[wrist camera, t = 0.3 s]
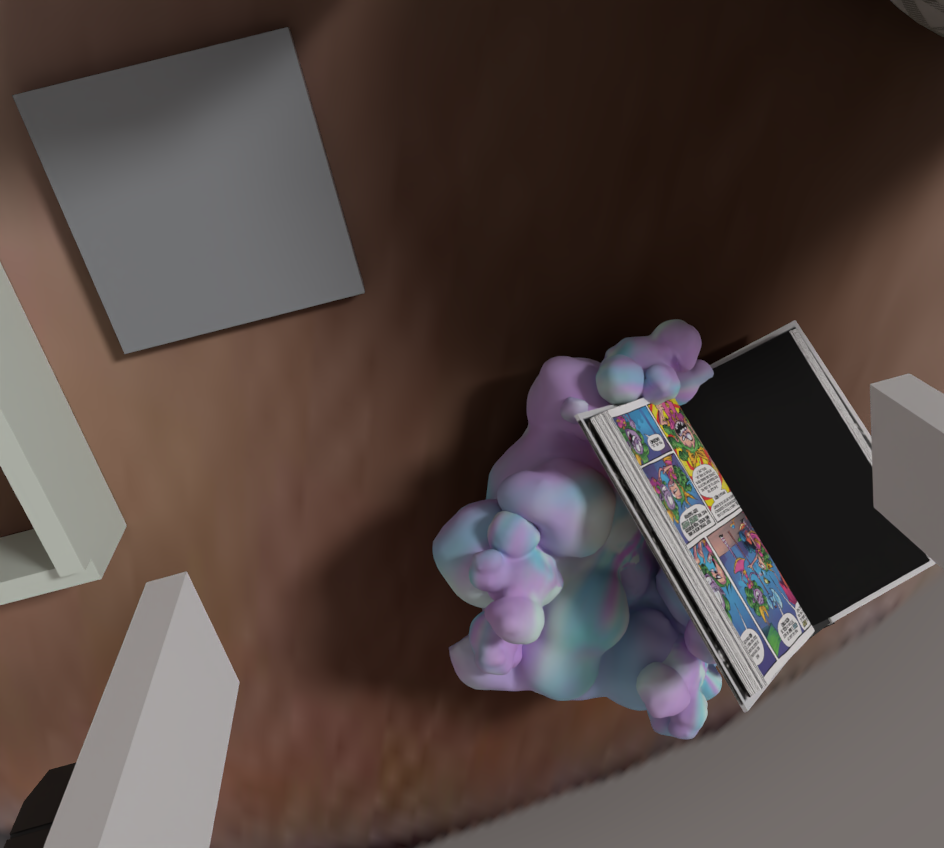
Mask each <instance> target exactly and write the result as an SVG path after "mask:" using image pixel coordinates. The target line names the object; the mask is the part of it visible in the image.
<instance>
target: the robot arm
mask: <svg viewBox="0 0 944 848" xmlns="http://www.w3.org/2000/svg"><path fill="white" fill-rule="evenodd" d="M870 404H871V438H872V471H873V505H874V508H875V509H876V510H877V511H879V512H880V513H881V514H882V515H883V516H884V517H885V518H886V519H887V520H889V521H890V522H891V523H892V524H893V525H894V526H895V527H896V528H897V529H899V530H900V531H901V532H902V533H903V534H904V535H905V536H906V537H907V538H909V539H910V540H911V541H912V542H913V543H914V544H915V545H916V546H917V547H919V548H920V549H921V550H922V551H923V552H924V553H925V554H926V555H927V556H929V557H930V558H931V559H932V560H933V561H934V562H935V563H936V564H938V565H939V566H940V567H941V568H942V569H943V570H944V394H943V393H941V392H939V391H938V390H936V389H934V388H933V387H931V386H929V385H928V384H926V383H924V382H923V381H921V380H919V379H918V378H916V377H914V376H913V375H911V374H905V375H902V376H898V377H895V378H891V379H887V380H884V381H880V382H876V383H873V384H870ZM238 687H239V680H238V678H237V676H236V674H235V672H234V670H233V667H232V665H231V663H230V661H229V659H228V657H227V655H226V653H225V651H224V649H223V646H222V644H221V642H220V640H219V638H218V636H217V634H216V632H215V630H214V628H213V625H212V623H211V621H210V619H209V617H208V615H207V613H206V611H205V609H204V607H203V605H202V602H201V600H200V598H199V596H198V594H197V592H196V590H195V588H194V586H193V584H192V581H191V579H190V577H189V575H188V573H187V572H183V573H179V574H176V575H172V576H168V577H165V578H161V579H157V580H154V581H150V582H146V585H145V587H144V590H143V593H142V595H141V598H140V600H139V603H138V605H137V608H136V611H135V613H134V616H133V618H132V621H131V623H130V626H129V629H128V631H127V634H126V636H125V639H124V641H123V644H122V647H121V649H120V652H119V654H118V657H117V659H116V662H115V665H114V667H113V670H112V672H111V675H110V677H109V680H108V683H107V685H106V688H105V690H104V693H103V695H102V698H101V701H100V703H99V706H98V708H97V711H96V713H95V716H94V719H93V721H92V724H91V726H90V729H89V731H88V734H87V737H86V739H85V742H84V744H83V747H82V749H81V752H80V755H79V757H78V760H77V762H76V763H73V764H69V765H65V766H62V767H58V768H54V769H51V770H49V771H48V772H47V773H46V775H45V776H44V777H43V778H42V780H41V781H40V782H39V783H38V785H37V786H36V787H35V788H34V790H33V791H32V792H31V793H30V795H29V796H28V797H27V798H26V800H25V801H24V802H23V805H22V807H21V809H20V812H19V814H18V816H17V818H16V821H15V823H14V825H13V828H12V830H11V832H10V835H11V838H10V839H9V840H7V841H6V844H5V846H4V848H209V846H210V840H211V835H212V830H213V824H214V819H215V813H216V808H217V802H218V797H219V791H220V786H221V780H222V775H223V769H224V764H225V758H226V753H227V748H228V742H229V737H230V731H231V726H232V720H233V715H234V709H235V704H236V698H237V693H238Z"/></svg>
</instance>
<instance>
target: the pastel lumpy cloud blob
mask: <svg viewBox="0 0 944 848" xmlns="http://www.w3.org/2000/svg"><path fill="white" fill-rule="evenodd" d="M701 345H702V342H701V337H700V334H699V332H698V331H697V330H696V329H695V328H694V327H693V326H692V325H689V324H687V323H686V322H685V321H683V320H680V319H673V320H668V321H665V322H663V323H661V324H660V325H658V326H657V327H656V329H655V330H654V331H653V333H652V334H650V335H649V336H639V337H627V338H624V339H622V340H621V341H620V342H619V343H617V344H616V345H615V346H613V347H611V348H609V349H608V350H607V351H606V354H605V358H604V359H603V361H602V362H601V363H600V362H598V361H595V360H592V359H589V358H580V357H577V358H572V357H569V356H556V357H553V358H550V359H549V360H547V361H546V362H545V363H544V364H543V366H542V368H541V370H540V373H539V375H538V376H537V378H536V379H535V381H534V383H533V384H532V386H531V388H530V391H529V393H528V398H527V418H528V427H527V429H526V430H525V432H524V434H523V435H522V436H521V438H520V439H519V440H517V441H516V442H515V443H514V444H513V445H512V446H511V447H510V448H509V449H508V450H507V451H506V452H505V453H504V454H503V455H502V456H501V457H500V458H499V460H498V461H497V462H496V463H495V464H494V466H493V467H492V469H491V471H490V473H489V478H488V486H487V495H486V500H481V501H477V502H473V503H470V504H467V505H466V506H464V507H462V508H461V509H460V510H459V511H458V512H457V513H456V514H455V515H454V516H453V517H452V518H451V519H450V520H449V521H448V522H447V523H446V524H445V525H444V526H443V527H442V529H441V530H440V532H439V533H438V535H437V536H436V538H435V539H434V540H433V549H432V550H433V557H434V560H435V563H436V565H437V568H438V569H439V571H440V573H441V574H442V576H443V577H444V579H445V580H446V581H447V583H448V584H449V585H450V587H451V588H452V590H453V591H454V592H455V594H456V595H457V596H459V597H460V598H461V599H462V600H463V601H465V602H467V603H469V604H471V605H474V606H476V607H480V608H482V611H483V612H481V613H479V614H478V615H477V616H476V617H475V618H474V619H473V621H472V622H471V625H470V630H469V634H468V635H467V636H466V637H464V638H463V639H461V640H460V641H459V642H457V643H455V644H454V645H452V646H450V647H449V653H450V658H451V662H452V664H453V667H454V669H455V672H456V674H457V676H458V677H459V678H460V680H461V681H462V682H463V683H465V684H466V685H467V686H469V687H471V688H473V689H478V690H502V691H523V690H532V691H534V692H536V693H539V694H541V695H544V696H546V697H548V698H551V699H554V700H558V701H567V700H586V699H591V698H597V697H608V698H609V699H611V700H612V701H614V702H616V703H618V704H620V705H622V706H624V707H627V708H630V709H633V710H638V711H639V710H647V713H648V715H649V718H650V721H651V725H652V728H653V730H654V731H656V732H657V733H659V734H661V735H667V736H673V737H676V738H679V739H691V738H694V737H695V736H696V734H697V733H698V731H699V729H700V728H701V727H702V726H703V723H704V722H705V720H706V718H707V714H708V713H707V700H709V699H711V698H712V697H714V696H715V695H717V694H718V693H719V691H720V690H721V686H722V678H721V675H720V674H719V673H718V671H717V669H716V668H715V667H716V665H717V666H718V668H719V669H720V671H721V673H722V675H723V676H724V678H725V680H726V682H727V683H728V685H729V687H730V689H731V690H732V692H733V694H734V696H735V697H736V699H737V701H738V703H739V704H740V706H741V708H742V710H743V711H744V712H747V711H748V710H749V709H750V708H751V707H752V705H753V704H754V703H755V702H756V700H757V699H758V698H759V696H760V695H761V694H762V693H763V691H764V690H765V689H766V688H767V686H768V685H769V684H770V683H771V681H772V680H773V679H774V677H775V676H776V675H777V674H778V672H779V671H780V670H781V669H782V667H783V666H784V665H785V664H786V662H787V661H788V660H789V659H790V658H791V657H792V656H793V655H794V654H795V653H796V652H797V651H798V650H799V648H800V647H801V646H802V645H803V644H804V643H805V642H806V641H807V640H808V639H810V638H811V637H812V636H814V635H815V634H816V633H818V632H819V631H820V630H822V629H823V628H825V627H827V626H829V625H832V624H834V622H835V621H836V620H838V619H840V618H841V617H843V616H845V615H847V614H848V613H850V612H852V611H854V610H855V609H857V608H859V607H861V606H862V605H864V604H866V603H868V602H869V601H871V600H873V599H875V598H876V597H878V596H880V595H882V594H883V593H885V592H887V591H889V590H890V589H892V588H894V587H896V586H897V585H899V584H901V583H903V582H904V581H906V580H908V579H910V578H911V577H913V576H915V575H917V574H918V573H920V572H922V571H924V570H925V569H927V568H929V567H931V566H932V565H934V564H936V563H935V562H934V561H933V560H932V559H931V558H930V557H929V556H927V555H926V554H925V553H924V552H923V551H922V550H921V549H920V548H919V547H917V546H916V545H915V544H914V543H913V542H912V541H911V540H910V539H909V538H907V537H906V536H905V535H904V534H903V533H902V532H901V531H900V530H899V529H897V528H896V527H895V526H894V525H893V524H892V523H891V522H890V521H889V520H887V519H886V518H885V517H884V516H883V515H882V514H881V513H880V512H879V511H877V510H876V509H875V508H874V505H873V471H872V438H871V435H870V434H869V432H868V431H867V429H866V428H865V426H864V425H863V423H862V422H861V420H860V419H859V417H858V415H857V414H856V412H855V411H854V409H853V408H852V406H851V405H850V403H849V402H848V400H847V399H846V397H845V395H844V394H843V392H842V391H841V389H840V388H839V386H838V385H837V383H836V382H835V380H834V379H833V377H832V376H831V374H830V372H829V371H828V369H827V368H826V366H825V365H824V363H823V362H822V360H821V359H820V357H819V356H818V354H817V352H816V351H815V349H814V348H813V346H812V345H811V343H810V342H809V340H808V339H807V337H806V336H805V334H804V332H803V331H802V329H801V328H800V326H799V325H798V323H797V322H796V320H794V321H792V322H791V323H789V324H787V325H785V326H783V327H781V328H779V329H777V330H775V331H773V332H772V333H770V334H768V335H766V336H764V337H762V338H760V339H758V340H756V341H755V342H753V343H751V344H749V345H747V346H745V347H743V348H741V349H739V350H737V351H736V352H734V353H732V354H730V355H728V356H726V357H724V358H722V359H720V360H719V361H717V362H715V363H713V364H711V365H709V364H708V363H707V362H705V361H704V360H697V357H698V355H699V352H700V349H701Z"/></svg>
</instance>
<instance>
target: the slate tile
mask: <svg viewBox="0 0 944 848" xmlns="http://www.w3.org/2000/svg"><path fill="white" fill-rule="evenodd" d="M12 96H13V98H14V101H15V103H16V105H17V107H18V110H19V112H20V114H21V117H22V119H23V121H24V124H25V126H26V128H27V131H28V133H29V135H30V137H31V140H32V142H33V144H34V147H35V149H36V151H37V154H38V156H39V158H40V160H41V163H42V165H43V167H44V170H45V172H46V174H47V177H48V179H49V181H50V183H51V186H52V188H53V190H54V193H55V195H56V197H57V200H58V202H59V204H60V206H61V209H62V211H63V213H64V216H65V218H66V220H67V223H68V225H69V227H70V229H71V232H72V234H73V236H74V239H75V241H76V243H77V246H78V248H79V250H80V252H81V255H82V257H83V259H84V262H85V264H86V266H87V269H88V271H89V273H90V275H91V278H92V280H93V282H94V285H95V287H96V289H97V292H98V294H99V296H100V298H101V301H102V303H103V305H104V308H105V310H106V312H107V315H108V317H109V319H110V321H111V324H112V326H113V328H114V331H115V333H116V335H117V338H118V340H119V342H120V344H121V347H122V349H123V351H124V354H127V353H131V352H135V351H139V350H143V349H147V348H151V347H154V346H158V345H162V344H166V343H170V342H174V341H178V340H182V339H186V338H190V337H194V336H198V335H202V334H206V333H209V332H213V331H217V330H221V329H225V328H229V327H233V326H237V325H241V324H245V323H249V322H253V321H257V320H260V319H264V318H268V317H272V316H276V315H280V314H284V313H288V312H292V311H296V310H300V309H304V308H308V307H312V306H315V305H319V304H323V303H327V302H331V301H335V300H339V299H343V298H347V297H351V296H355V295H359V294H363V293H365V287H364V283H363V280H362V276H361V273H360V269H359V266H358V263H357V259H356V256H355V252H354V249H353V245H352V242H351V238H350V235H349V231H348V228H347V224H346V221H345V217H344V214H343V211H342V207H341V204H340V200H339V197H338V193H337V190H336V186H335V183H334V179H333V176H332V172H331V169H330V165H329V162H328V159H327V155H326V152H325V148H324V145H323V141H322V138H321V134H320V131H319V127H318V124H317V120H316V117H315V113H314V110H313V107H312V103H311V100H310V96H309V93H308V89H307V86H306V82H305V79H304V75H303V72H302V68H301V65H300V61H299V58H298V55H297V51H296V48H295V44H294V41H293V37H292V34H291V30H290V27H286V28H282V29H278V30H274V31H270V32H266V33H262V34H258V35H254V36H250V37H246V38H241V39H237V40H233V41H229V42H225V43H221V44H217V45H213V46H209V47H205V48H201V49H197V50H193V51H189V52H185V53H181V54H177V55H173V56H169V57H165V58H161V59H157V60H153V61H149V62H145V63H141V64H137V65H133V66H128V67H124V68H120V69H116V70H112V71H108V72H104V73H100V74H96V75H92V76H88V77H84V78H80V79H76V80H72V81H68V82H64V83H60V84H56V85H52V86H48V87H44V88H40V89H36V90H32V91H28V92H24V93H19V94H15V95H12Z"/></svg>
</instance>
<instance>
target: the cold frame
mask: <svg viewBox="0 0 944 848" xmlns="http://www.w3.org/2000/svg"><path fill="white" fill-rule="evenodd" d="M0 466H1V468H2V470H3V472H4V474H5V476H6V477H7V479H8V481H9V483H10V485H11V487H12V489H13V490H14V492H15V494H16V496H17V498H18V500H19V502H20V503H21V505H22V507H23V509H24V511H25V513H26V515H27V516H28V518H29V520H30V522H31V524H32V526H33V528H34V529H32V530H28V531H24V532H20V533H16V534H12V535H8V536H5V537H1V538H0V605H3V604H7V603H10V602H14V601H18V600H22V599H26V598H30V597H34V596H37V595H41V594H45V593H49V592H53V591H57V590H60V589H64V588H68V587H72V586H76V585H80V584H84V583H87V582H91V581H95V580H99V579H102V577H103V574H104V572H105V570H106V568H107V566H108V564H109V562H110V560H111V558H112V556H113V553H114V551H115V549H116V547H117V545H118V543H119V541H120V539H121V537H122V535H123V533H124V530H125V528H126V526H127V525H126V523H125V521H124V519H123V517H122V515H121V512H120V510H119V508H118V506H117V504H116V502H115V500H114V498H113V496H112V494H111V492H110V490H109V487H108V485H107V483H106V481H105V479H104V477H103V475H102V473H101V471H100V469H99V467H98V465H97V462H96V460H95V458H94V456H93V454H92V452H91V450H90V448H89V446H88V444H87V442H86V440H85V437H84V435H83V433H82V431H81V429H80V427H79V425H78V423H77V421H76V419H75V417H74V415H73V412H72V410H71V408H70V406H69V404H68V402H67V400H66V398H65V396H64V394H63V392H62V390H61V387H60V385H59V383H58V381H57V379H56V377H55V375H54V373H53V371H52V369H51V367H50V365H49V362H48V360H47V358H46V356H45V354H44V352H43V350H42V348H41V346H40V344H39V342H38V340H37V337H36V335H35V333H34V331H33V329H32V327H31V325H30V323H29V321H28V319H27V317H26V315H25V312H24V310H23V308H22V306H21V304H20V302H19V300H18V298H17V296H16V294H15V292H14V290H13V287H12V285H11V283H10V281H9V279H8V277H7V275H6V273H5V271H4V269H3V267H2V265H1V262H0Z"/></svg>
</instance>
